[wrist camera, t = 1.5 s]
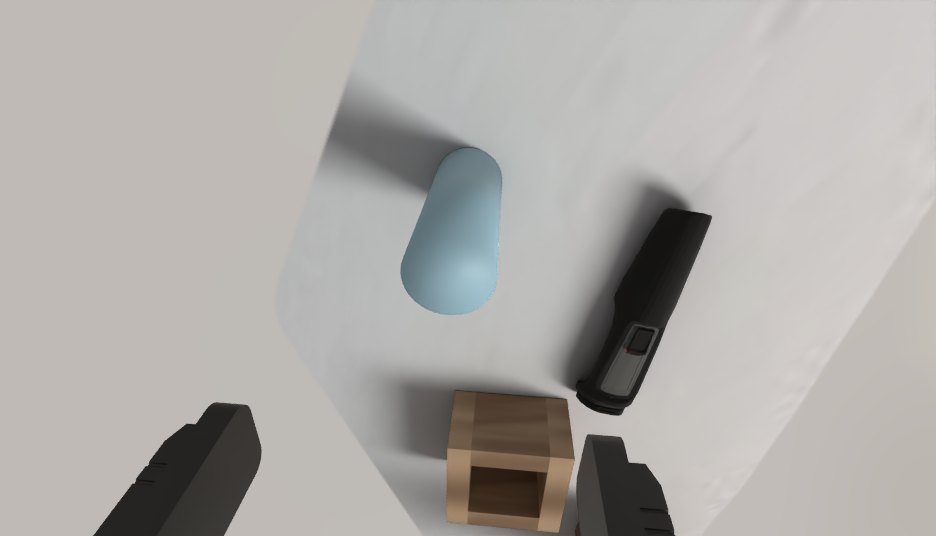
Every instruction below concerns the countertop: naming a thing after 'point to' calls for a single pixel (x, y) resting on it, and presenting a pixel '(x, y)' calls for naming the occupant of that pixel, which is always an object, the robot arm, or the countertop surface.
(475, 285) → the peg
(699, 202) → the countertop surface
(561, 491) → the socket block
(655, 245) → the electric trimmer
